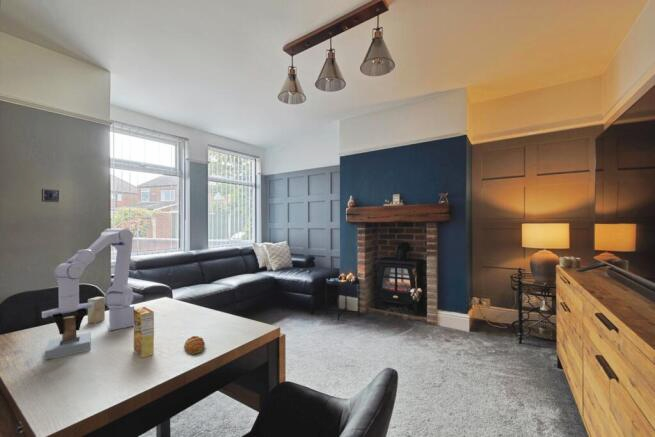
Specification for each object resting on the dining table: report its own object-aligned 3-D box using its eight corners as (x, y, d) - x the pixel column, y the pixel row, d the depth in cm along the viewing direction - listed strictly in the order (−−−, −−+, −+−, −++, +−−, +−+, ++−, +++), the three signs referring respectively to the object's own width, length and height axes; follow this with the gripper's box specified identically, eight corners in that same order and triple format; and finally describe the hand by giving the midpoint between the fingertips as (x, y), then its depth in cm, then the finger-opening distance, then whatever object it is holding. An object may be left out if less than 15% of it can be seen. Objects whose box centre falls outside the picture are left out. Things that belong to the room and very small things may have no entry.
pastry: (207, 352, 105) (207, 341, 105) (187, 357, 101) (187, 346, 101) (202, 343, 112) (201, 333, 112) (182, 348, 109) (182, 338, 109)
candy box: (132, 351, 106) (132, 309, 106) (146, 347, 109) (145, 306, 109) (141, 358, 100) (140, 314, 100) (155, 354, 103) (154, 311, 103)
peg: (75, 336, 112) (74, 315, 112) (77, 338, 109) (77, 317, 109) (61, 339, 108) (60, 318, 108) (63, 342, 106) (63, 320, 106)
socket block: (90, 339, 117) (90, 332, 117) (90, 349, 108) (90, 341, 108) (49, 348, 110) (49, 340, 110) (45, 360, 100) (45, 351, 100)
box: (94, 323, 136) (94, 299, 136) (87, 322, 136) (86, 299, 136) (105, 319, 141) (105, 296, 141) (98, 319, 142) (97, 296, 142)
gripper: (89, 289, 117) (90, 323, 117) (39, 298, 105) (40, 335, 105) (95, 292, 113) (96, 327, 113) (44, 301, 101) (44, 340, 101)
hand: (69, 331), depth 109 cm, fingers closed on peg, 4 cm apart
